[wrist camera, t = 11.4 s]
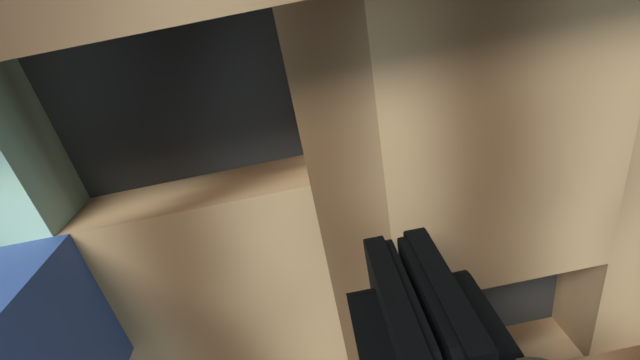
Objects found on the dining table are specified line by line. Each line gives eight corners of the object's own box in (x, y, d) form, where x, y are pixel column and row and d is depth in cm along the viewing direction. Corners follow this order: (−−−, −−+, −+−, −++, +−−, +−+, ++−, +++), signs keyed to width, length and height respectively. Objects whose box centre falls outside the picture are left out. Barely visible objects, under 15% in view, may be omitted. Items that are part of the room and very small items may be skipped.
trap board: (973, -184, 10) (1635, -350, 5) (762, 278, 17) (953, 393, 12) (-227, 57, 10) (-718, 123, 5) (66, 420, 17) (-19, 592, 12)
